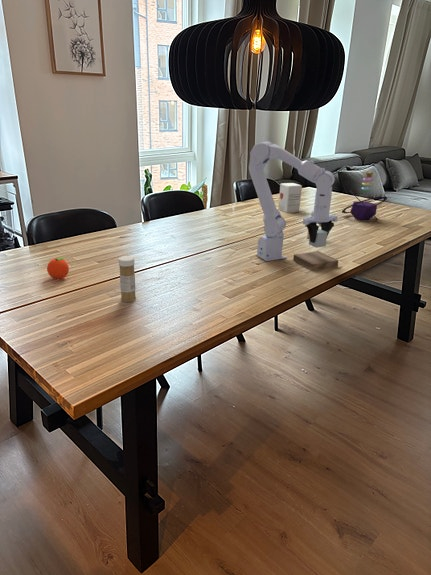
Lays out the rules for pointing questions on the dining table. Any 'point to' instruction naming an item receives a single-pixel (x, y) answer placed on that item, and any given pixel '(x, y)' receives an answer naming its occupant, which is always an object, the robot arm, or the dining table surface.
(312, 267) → the walnut block
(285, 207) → the supplement box
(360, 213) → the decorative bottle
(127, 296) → the sprinkles bottle
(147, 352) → the dining table surface
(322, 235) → the grey block
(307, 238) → the grandmother figurine
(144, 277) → the dining table surface
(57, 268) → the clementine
